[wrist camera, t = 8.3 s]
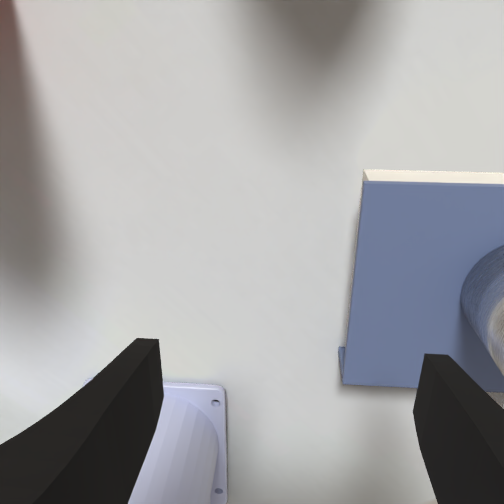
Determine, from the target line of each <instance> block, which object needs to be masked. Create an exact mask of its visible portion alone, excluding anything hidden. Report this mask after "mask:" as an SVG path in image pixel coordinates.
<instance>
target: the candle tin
mask: <svg viewBox="0 0 504 504" xmlns="http://www.w3.org/2000/svg"><path fill="white" fill-rule="evenodd" d="M461 305H462V310H463V312H464V315H465V317H466V318H467V320H468V321H469V323H470V325H471V326H472V328H473V329H474V331H475V332H476V334H477V335H478V337H479V338H480V340H481V342H482V343H483V345H484V346H485V348H486V349H487V351H488V352H489V354H490V356H491V357H492V359H493V360H494V362H495V363H496V365H497V366H498V368H499V369H500V371H501V373H502V374H503V376H504V245H502V246H500V247H498V248H496V249H494V250H492V251H491V252H489V253H488V254H486V255H485V256H484V257H483V258H481V259H480V260H479V261H478V262H477V263H476V264H475V265H474V266H473V268H472V269H471V270H470V272H469V273H468V275H467V277H466V279H465V281H464V284H463V287H462V291H461Z"/></svg>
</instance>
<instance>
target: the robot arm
mask: <svg viewBox="0 0 504 504" xmlns="http://www.w3.org/2000/svg"><path fill="white" fill-rule="evenodd" d="M213 400H218V401H219V402H215V401H213ZM413 415H414V421H415V426H416V432H417V437H418V441H419V446H420V450H421V453H422V456H423V460H424V463H425V466H426V469H427V472H428V475H429V478H430V481H431V484H432V487H433V490H434V493H435V496H436V499H437V502H438V504H504V409H503V408H502V407H500V406H499V405H498V404H497V403H496V402H495V401H494V400H493V399H492V398H491V397H490V396H489V395H488V394H487V393H486V392H485V391H484V390H483V389H482V388H481V387H480V386H479V385H478V384H477V383H476V382H475V381H474V380H473V379H472V378H471V377H470V376H469V375H468V374H467V373H466V372H465V371H464V370H463V369H462V368H461V367H460V366H459V365H458V364H457V363H456V362H455V361H454V360H453V359H452V358H451V357H450V356H449V355H445V354H426V353H425V354H424V359H423V364H422V369H421V374H420V379H419V384H418V389H417V394H416V399H415V404H414V409H413ZM227 499H228V491H227V446H226V401H225V390H224V388H223V387H221V386H219V385H210V384H192V383H174V382H163V379H162V369H161V359H160V348H159V339H145V338H137V339H136V340H134V341H133V342H132V343H131V344H130V345H129V346H128V347H127V348H126V349H124V350H123V351H122V352H121V353H120V354H119V355H118V356H117V357H116V358H115V359H114V360H113V361H112V362H111V363H109V364H108V365H107V366H106V367H105V368H104V369H103V370H102V371H101V372H100V373H98V374H97V375H96V376H95V377H94V378H89V379H87V380H86V381H85V382H84V384H83V387H82V388H81V389H80V390H79V391H78V392H76V393H75V394H74V395H73V396H71V397H70V398H69V399H68V400H66V401H65V402H64V403H63V404H61V405H60V406H59V407H57V408H56V409H55V410H53V411H52V412H51V413H49V414H48V415H47V416H45V417H44V418H42V419H41V420H39V421H38V422H36V423H35V424H33V425H32V426H30V427H29V428H27V429H26V430H24V431H23V432H21V433H20V434H18V435H16V436H14V437H13V438H11V439H9V440H8V441H6V442H4V443H3V444H1V445H0V504H227Z"/></svg>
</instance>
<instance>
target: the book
mask: <svg viewBox="0 0 504 504" xmlns="http://www.w3.org/2000/svg"><path fill="white" fill-rule="evenodd" d="M502 245H504V173H489V172H448V171H406V170H365V169H363V179H362V188H361V198H360V207H359V216H358V226H357V235H356V245H355V254H354V264H353V273H352V283H351V292H350V302H349V311H348V321H347V330H346V339H345V347H339V351H338V354H339V361H340V368H341V375H342V382H343V384H350V385H369V386H389V387H408V388H418V384H419V379H420V374H421V369H422V364H423V359H424V354H425V353H426V354H445V355H449V356H450V357H451V358H452V359H453V360H454V361H455V362H456V363H457V364H458V365H459V366H460V367H461V368H462V369H463V370H464V371H465V372H466V373H467V374H468V375H469V376H470V377H471V378H472V379H473V380H474V381H475V382H476V383H477V384H478V385H479V386H480V387H481V388H482V389H483V390H484V391H485V392H504V376H503V374H502V373H501V371H500V369H499V368H498V366H497V365H496V363H495V362H494V360H493V359H492V357H491V356H490V354H489V352H488V351H487V349H486V348H485V346H484V345H483V343H482V342H481V340H480V338H479V337H478V335H477V334H476V332H475V331H474V329H473V328H472V326H471V325H470V323H469V321H468V320H467V318H466V317H465V315H464V312H463V310H462V305H461V291H462V287H463V284H464V281H465V279H466V277H467V275H468V273H469V272H470V270H471V269H472V268H473V266H474V265H475V264H476V263H477V262H478V261H479V260H480V259H481V258H483V257H484V256H485V255H486V254H488V253H489V252H491V251H492V250H494V249H496V248H498V247H500V246H502Z"/></svg>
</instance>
